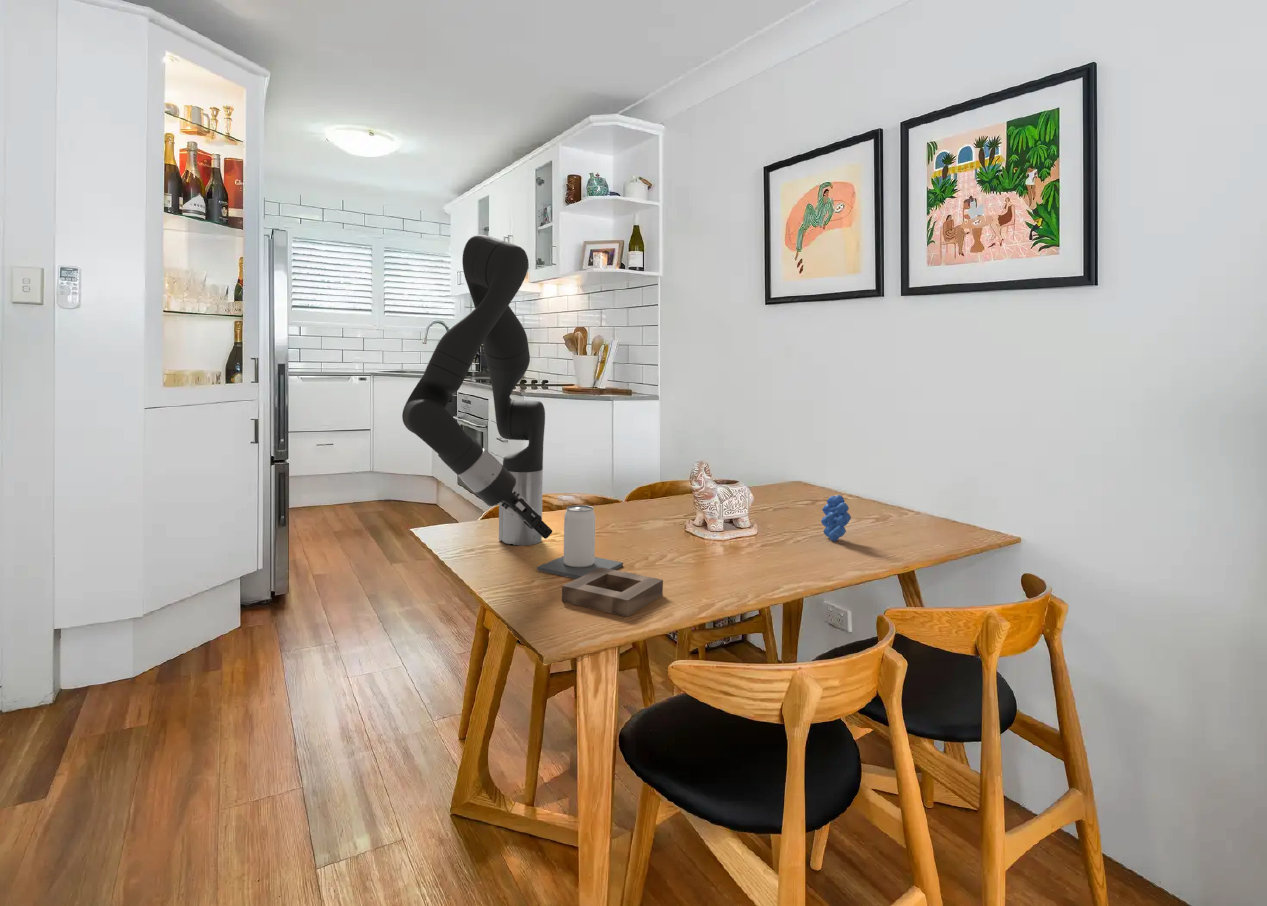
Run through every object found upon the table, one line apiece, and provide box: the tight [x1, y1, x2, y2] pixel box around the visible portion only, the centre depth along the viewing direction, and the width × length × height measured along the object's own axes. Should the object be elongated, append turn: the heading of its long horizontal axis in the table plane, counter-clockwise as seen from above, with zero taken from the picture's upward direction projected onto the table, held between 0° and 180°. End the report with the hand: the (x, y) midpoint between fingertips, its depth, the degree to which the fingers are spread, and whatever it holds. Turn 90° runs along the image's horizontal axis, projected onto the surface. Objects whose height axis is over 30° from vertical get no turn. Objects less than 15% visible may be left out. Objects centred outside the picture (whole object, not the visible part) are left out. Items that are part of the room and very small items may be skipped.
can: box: [563, 504, 596, 568], centre depth 151 cm, size 6×6×12 cm
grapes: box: [820, 494, 852, 542], centre depth 181 cm, size 12×7×12 cm, turn 10°
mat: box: [536, 555, 624, 580], centre depth 152 cm, size 13×13×1 cm
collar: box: [561, 567, 664, 618], centre depth 134 cm, size 14×14×3 cm
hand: (541, 530), depth 146 cm, fingers open, 8 cm apart
